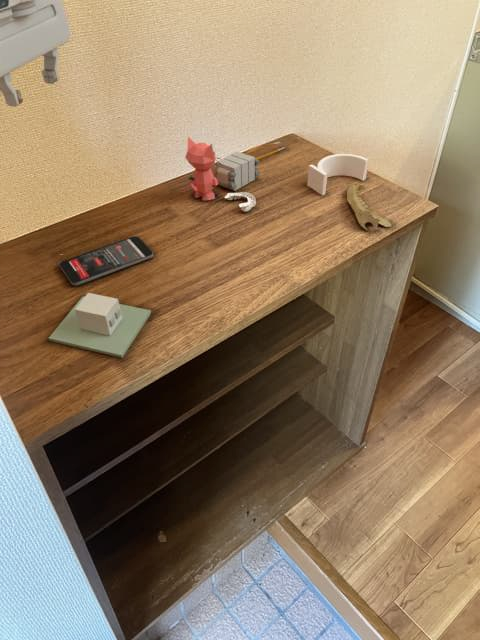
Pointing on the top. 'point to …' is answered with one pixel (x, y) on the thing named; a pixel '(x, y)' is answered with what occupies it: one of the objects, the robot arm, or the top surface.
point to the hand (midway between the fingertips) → (34, 93)
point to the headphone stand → (336, 170)
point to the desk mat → (99, 342)
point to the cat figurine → (202, 169)
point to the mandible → (363, 209)
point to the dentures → (240, 195)
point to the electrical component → (239, 169)
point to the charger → (98, 314)
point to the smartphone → (105, 260)
